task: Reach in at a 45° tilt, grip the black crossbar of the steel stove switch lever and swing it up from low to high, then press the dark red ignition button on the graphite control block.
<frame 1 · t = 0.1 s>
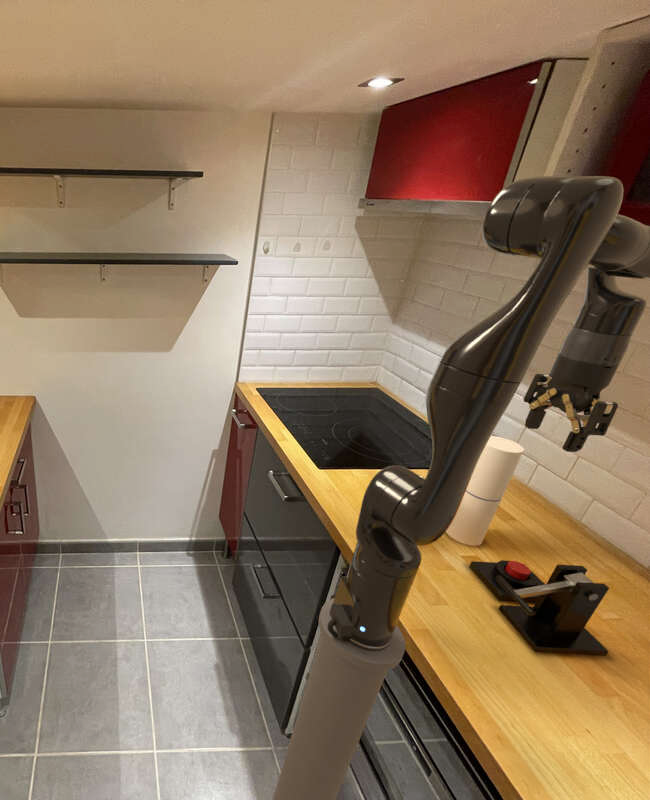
hand: (549, 438, 82), 33 cm above the worktop, tool pointing down, fingers open, 8 cm apart
cylindrical container: (463, 535, 106), on the worktop
ignition button: (517, 570, 91), point 4 cm above the worktop, slide at 0.1 cm
beer glass: (394, 532, 107), on the worktop
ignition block: (510, 584, 92), on the worktop
lever bracket: (549, 631, 82), on the worktop
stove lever: (548, 588, 78), point 10 cm above the worktop, hinge at -20.0°
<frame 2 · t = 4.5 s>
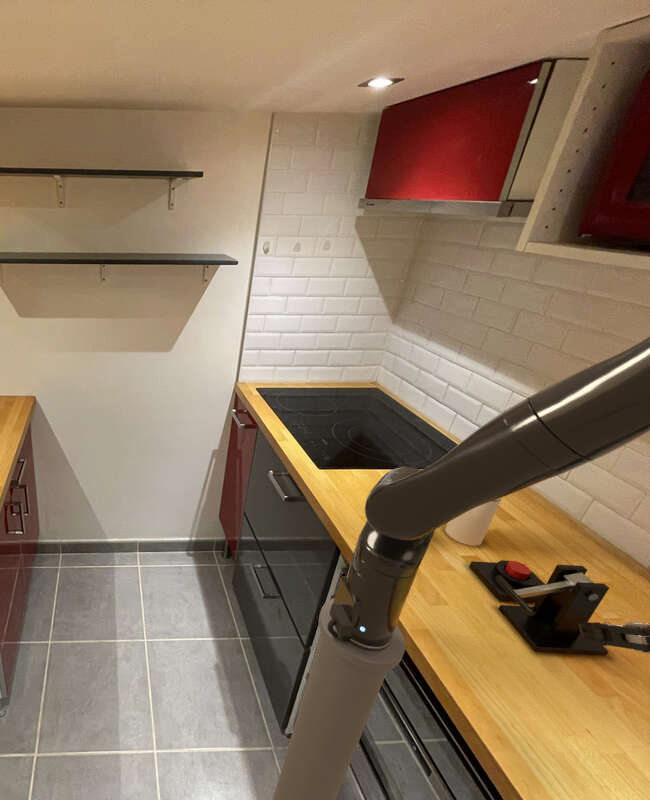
hand: (613, 631, 63), 17 cm above the worktop, tool tilted 45°, fingers open, 8 cm apart
nothing on the worktop moved.
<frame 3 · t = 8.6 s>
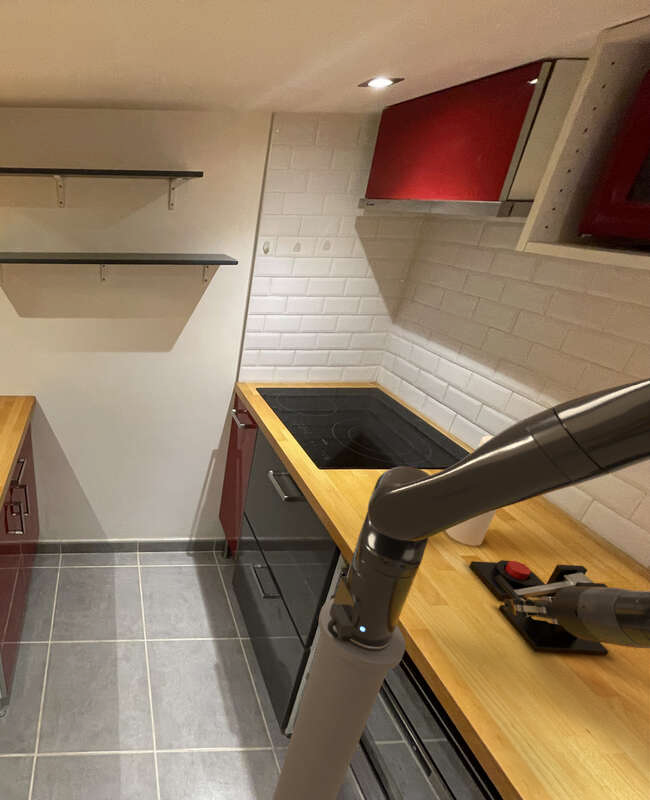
hand: (511, 605, 80), 6 cm above the worktop, tool tilted 45°, fingers closed
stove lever: (548, 588, 78), point 10 cm above the worktop, hinge at -20.0°, touching gripper
everything else where it was.
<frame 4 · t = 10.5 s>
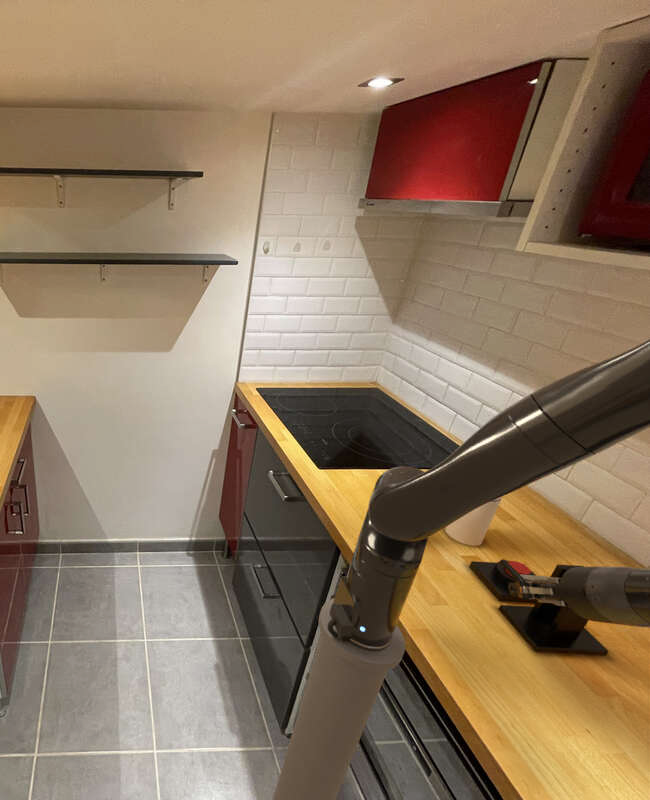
hand: (516, 589, 78), 10 cm above the worktop, tool tilted 45°, fingers closed
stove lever: (551, 581, 78), point 12 cm above the worktop, hinge at 2.7°, touching gripper
everything else where it was.
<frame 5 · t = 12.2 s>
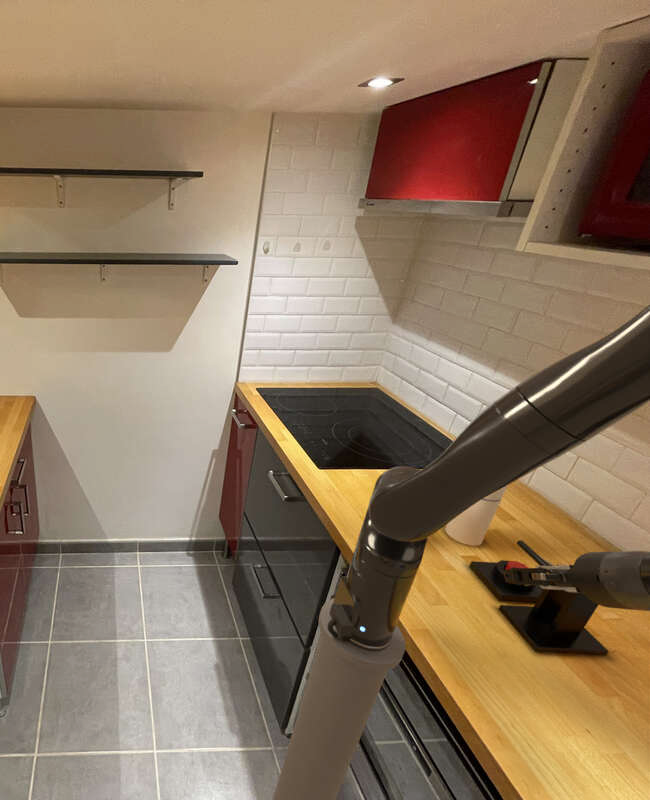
hand: (531, 577, 76), 14 cm above the worktop, tool tilted 45°, fingers open, 7 cm apart
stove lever: (559, 572, 77), point 14 cm above the worktop, hinge at 30.0°
everything else where it was.
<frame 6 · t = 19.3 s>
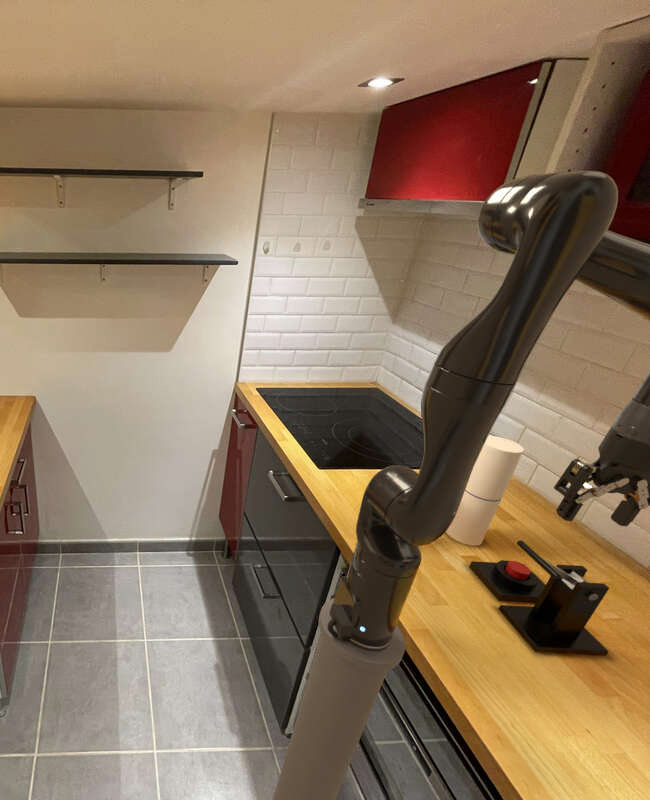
hand: (590, 520, 72), 25 cm above the worktop, tool pointing down, fingers open, 8 cm apart
nothing on the worktop moved.
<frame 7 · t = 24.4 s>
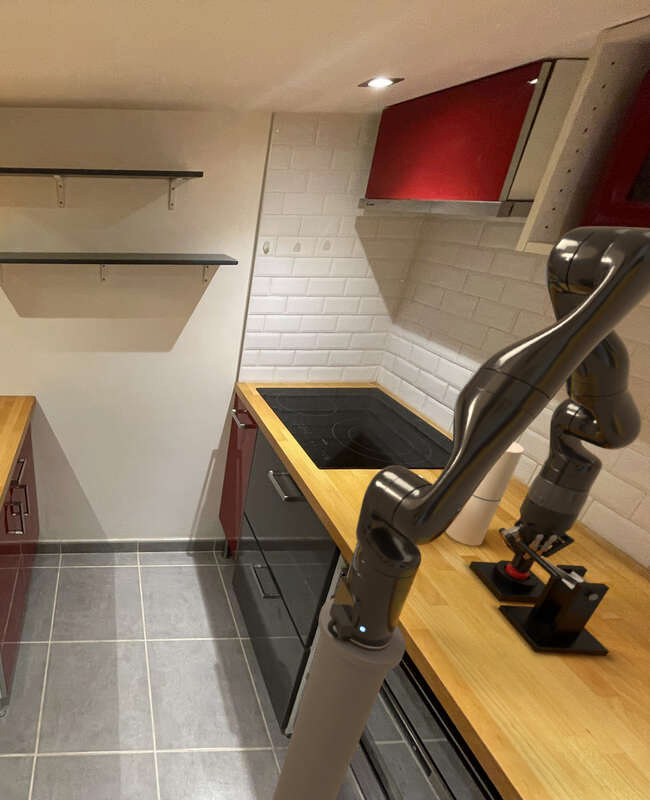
hand: (518, 569, 91), 4 cm above the worktop, tool pointing down, fingers closed
ignition button: (516, 572, 91), point 3 cm above the worktop, slide at -0.5 cm, touching gripper
everything else where it was.
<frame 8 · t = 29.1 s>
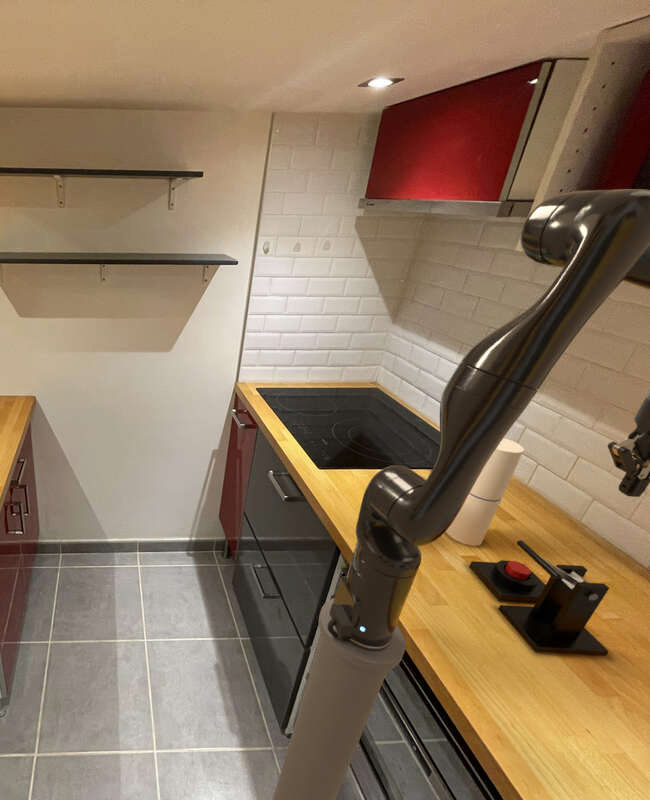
hand: (628, 493, 76), 27 cm above the worktop, tool pointing down, fingers closed
ignition button: (517, 570, 91), point 4 cm above the worktop, slide at 0.1 cm
everything else where it was.
at the end: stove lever at +30° (first picture: -20°); ignition button pushed in 1.1 cm at the most during the clip, back to where it started at the end; ignition button slide at 0.1 cm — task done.
